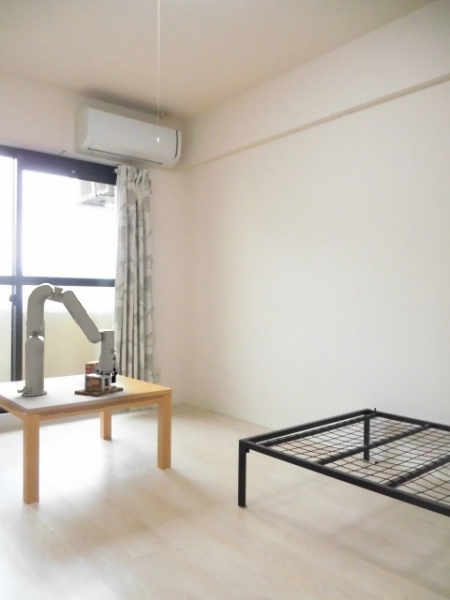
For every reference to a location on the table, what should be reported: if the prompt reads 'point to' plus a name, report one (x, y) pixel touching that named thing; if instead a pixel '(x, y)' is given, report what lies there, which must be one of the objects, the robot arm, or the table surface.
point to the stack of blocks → (92, 368)
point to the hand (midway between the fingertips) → (107, 382)
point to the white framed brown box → (99, 384)
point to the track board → (98, 392)
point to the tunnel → (91, 376)
